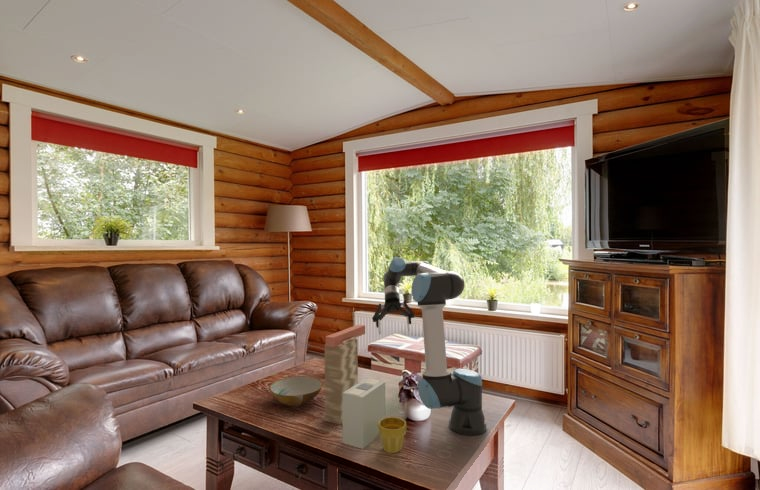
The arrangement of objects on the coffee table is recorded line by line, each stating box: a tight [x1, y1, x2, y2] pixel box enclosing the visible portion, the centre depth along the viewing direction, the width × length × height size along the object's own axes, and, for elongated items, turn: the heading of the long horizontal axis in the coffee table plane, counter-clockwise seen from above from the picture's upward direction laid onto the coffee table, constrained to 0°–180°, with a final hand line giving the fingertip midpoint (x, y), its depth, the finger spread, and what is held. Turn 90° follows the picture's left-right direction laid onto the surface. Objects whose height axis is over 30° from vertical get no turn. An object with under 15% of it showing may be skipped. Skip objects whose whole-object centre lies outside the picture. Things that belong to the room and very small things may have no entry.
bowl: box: [268, 375, 324, 407], centre depth 193 cm, size 25×25×8 cm
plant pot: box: [379, 416, 407, 454], centre depth 150 cm, size 10×10×10 cm
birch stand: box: [323, 337, 359, 426], centre depth 178 cm, size 15×9×34 cm, turn 151°
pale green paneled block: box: [342, 377, 386, 450], centre depth 160 cm, size 18×9×20 cm, turn 151°
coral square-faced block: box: [325, 324, 366, 347], centre depth 181 cm, size 26×4×4 cm, turn 151°
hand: (394, 330), depth 187 cm, fingers open, 13 cm apart
